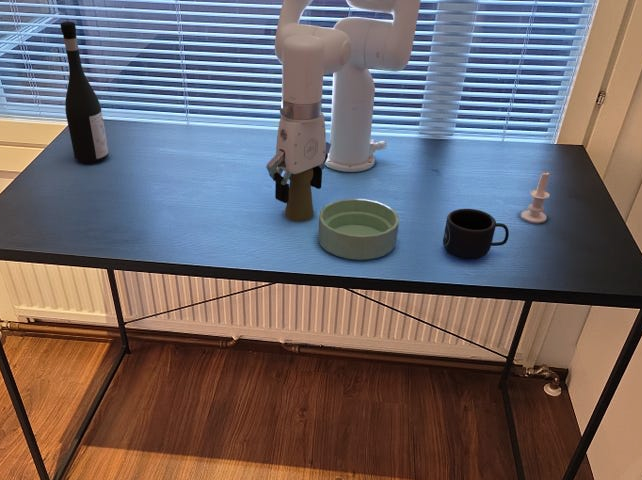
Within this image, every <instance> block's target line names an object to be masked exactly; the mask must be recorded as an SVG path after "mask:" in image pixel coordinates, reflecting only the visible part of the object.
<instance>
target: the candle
mask: <svg viewBox="0 0 642 480" xmlns="http://www.w3.org/2000/svg"><path fill="white" fill-rule="evenodd" d="M549 175H550V173H549V172H547V171H545V172H542V173H541V174H540V177H539V180H538V184H537V187H536V189H533V190H530V192H529V195H531V197H532V200H531V203H530V204H528V206H527V209H526V210H523V211H522V212H521V213H520V218H521V220H522V221H524V222H527V223H529V224H538V225H539V224H543V223H545V222H546V221H547V218H548V217H547V215H546V213H544V210H545V207H544V206H543V205H544V200H546V199H549V198H550V193H549V192H547V191H546V189H547V186H548V181H549Z"/></svg>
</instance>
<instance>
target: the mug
mask: <svg viewBox="0 0 642 480" xmlns="http://www.w3.org/2000/svg"><path fill="white" fill-rule="evenodd" d="M497 227H500V228H503V229H504V231H505V236H504V238H503V240H502V241H496V242H495V241H494V242H493V240H494V235H495V231H496V228H497ZM509 236H510V233H509V228H508V226H507V225H506V224H505V223H501V222H497V221H496V219H495V218H494V217H493V215H491V214H489V213H488V212H485V211H483V210H480V209H474V208H459V209H455V210H452V211H451V212H449V213H448V215H447V216H446V221H445V227H444V232H443V238H442V245H443V248H444V250H445V252H446V253H447V254H449V256H452V257H454V258H457V259H460V260H465V261H476V260H480V259H482V258H484V257H485V256H487V254H488V253H489V251H490V250H491V247H498V246H504V245H505V244H506V243H507V242H508V240H509Z"/></svg>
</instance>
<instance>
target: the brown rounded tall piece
mask: <svg viewBox="0 0 642 480" xmlns="http://www.w3.org/2000/svg"><path fill="white" fill-rule="evenodd" d="M312 177H313V169H312V168H311V169H309V170H306V171H303V172H301V173H298V174H292V173H291V175H290V177H289V179H288V181H289V201H288V203H285V204H286V205H285V212H284V217H285V218H286V219H287V220H288V221H291V222H297V223H304V222H308V221H310V220H312V219H313V218H314V216H315V214H314V205H313V196H312V195H313V194H312V186H311V184H310V181H311V180H312Z"/></svg>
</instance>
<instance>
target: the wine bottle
mask: <svg viewBox="0 0 642 480" xmlns="http://www.w3.org/2000/svg"><path fill="white" fill-rule="evenodd" d="M60 30H61V31H60V32H61V33H62V36H63V41H64V46H65V51H66V58H67V63H68V71H69V76H68V83H67V89H66V95H65V104H64V105H65V107H64V108H65V116H66V121H67V128H68V131H69V136H70V141H71V146H72V151H73V156H74V158H75V160H76V161H77V162H79V163H80V164H84V165H95V164H100V163H102V162H104V161H106V160H107V159H108V158H109V146H108V141H107V136H106V128H105V123H104V117H103V110H102V107H101V103H100V100H99V98H98V96H97V94H96V92H95V91H94V89H93V87H92V85H91V83H90V82H89V80H88V78H87V76H86V74H85V72H84V69H83V65H82V61H81V55H80V49H79V43H78V38H77V28H76V22H74V21H63V22H61V23H60Z"/></svg>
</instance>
